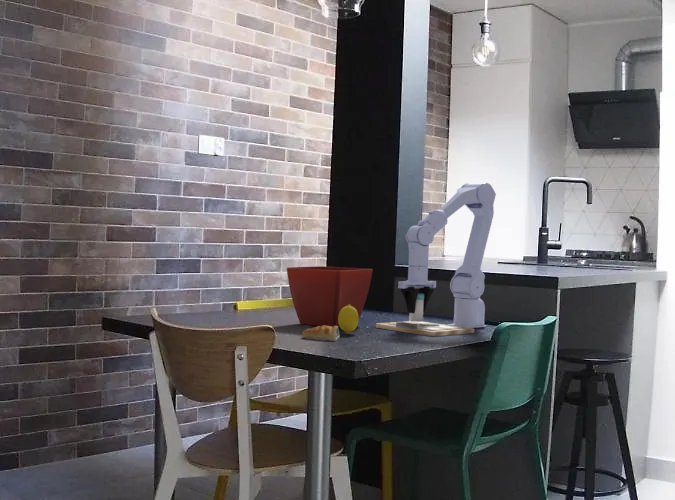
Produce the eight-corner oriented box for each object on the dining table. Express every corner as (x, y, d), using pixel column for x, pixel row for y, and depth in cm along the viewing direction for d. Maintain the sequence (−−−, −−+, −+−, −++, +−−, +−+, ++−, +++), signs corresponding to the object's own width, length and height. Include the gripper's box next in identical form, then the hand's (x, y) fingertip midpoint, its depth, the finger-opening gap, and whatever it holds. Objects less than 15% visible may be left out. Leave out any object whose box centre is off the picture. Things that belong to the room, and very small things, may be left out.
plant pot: (282, 324, 239) (284, 266, 238) (319, 319, 255) (321, 265, 254) (337, 330, 228) (339, 270, 228) (372, 325, 244) (374, 269, 244)
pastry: (300, 340, 206) (300, 325, 206) (304, 337, 213) (305, 322, 213) (336, 342, 205) (337, 327, 205) (340, 339, 212) (340, 324, 212)
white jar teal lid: (415, 319, 242) (416, 292, 242) (426, 321, 239) (427, 294, 239) (405, 320, 239) (406, 293, 239) (416, 321, 236) (417, 294, 236)
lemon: (356, 335, 217) (357, 305, 217) (335, 334, 218) (336, 304, 218) (359, 333, 223) (360, 304, 223) (339, 332, 224) (341, 303, 224)
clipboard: (416, 324, 250) (417, 316, 250) (474, 332, 234) (474, 324, 234) (375, 327, 238) (376, 319, 238) (433, 336, 222) (433, 327, 222)
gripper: (424, 265, 246) (422, 310, 247) (391, 265, 237) (389, 312, 237) (442, 267, 241) (440, 312, 242) (409, 267, 231) (407, 314, 232)
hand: (416, 312), depth 239 cm, fingers closed on white jar teal lid, 4 cm apart
